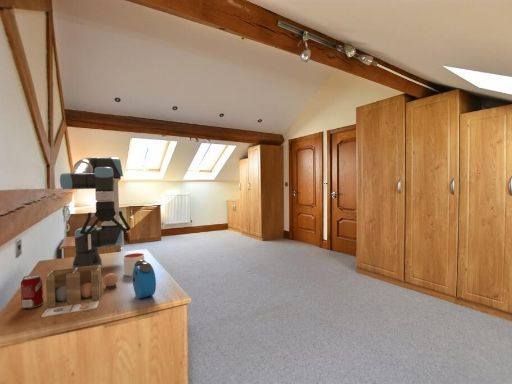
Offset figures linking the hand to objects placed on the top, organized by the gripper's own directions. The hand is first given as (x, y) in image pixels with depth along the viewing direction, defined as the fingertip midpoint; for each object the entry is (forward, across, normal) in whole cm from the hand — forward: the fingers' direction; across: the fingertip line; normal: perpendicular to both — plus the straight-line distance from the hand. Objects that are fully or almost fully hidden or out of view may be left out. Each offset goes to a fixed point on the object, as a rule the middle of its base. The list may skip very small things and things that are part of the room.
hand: (106, 247), depth 131 cm
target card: (+19, -11, -18) cm, 29 cm away
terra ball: (+15, +1, +2) cm, 16 cm away
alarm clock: (+20, +15, -17) cm, 30 cm away
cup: (+19, +11, +19) cm, 29 cm away
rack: (+19, -11, -10) cm, 24 cm away
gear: (+19, +1, +2) cm, 19 cm away
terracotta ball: (+16, -7, -10) cm, 19 cm away
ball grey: (+16, -15, -10) cm, 24 cm away
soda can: (+19, -26, -9) cm, 34 cm away
